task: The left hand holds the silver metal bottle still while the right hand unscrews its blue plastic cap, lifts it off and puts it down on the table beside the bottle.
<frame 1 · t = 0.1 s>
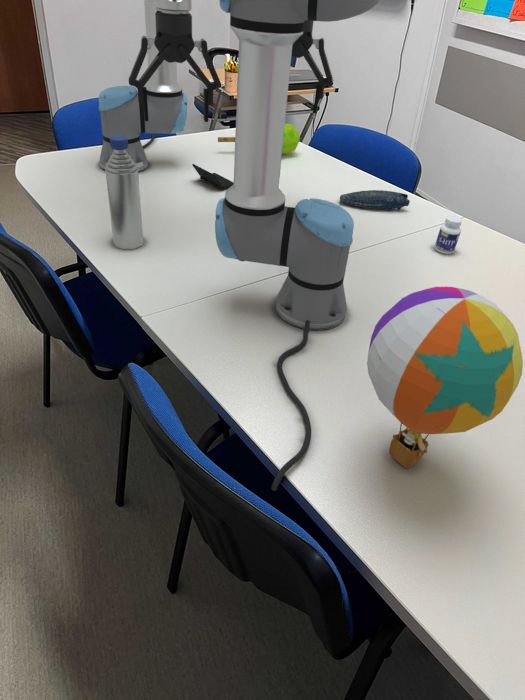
left hand: (176, 120, 120), 28 cm above the table, tool pointing down, fingers open, 13 cm apart
right hand: (288, 108, 135), 28 cm above the table, tool pointing down, fingers open, 13 cm apart
handheld gaming console: (213, 184, 165), on the table
cap: (118, 139, 115), point 25 cm above the table, screwed on, not yet turned
pill bottle: (443, 250, 140), on the table
fish model: (372, 206, 160), on the table
decorative tree: (258, 154, 190), on the table
toy: (404, 458, 82), on the table
bottle: (128, 242, 131), on the table
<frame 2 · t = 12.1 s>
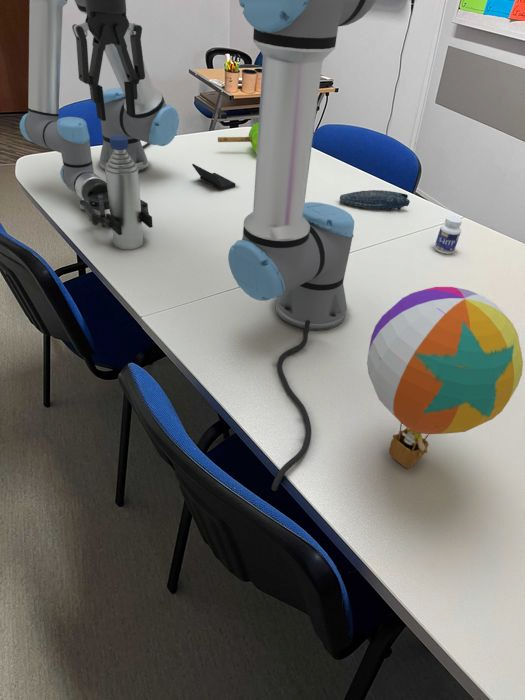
left hand: (135, 225, 124), 7 cm above the table, tool horizontal, fingers closed on bottle, 7 cm apart
right hand: (116, 117, 112), 30 cm above the table, tool pointing down, fingers open, 6 cm apart
bottle: (128, 242, 131), on the table, touching left hand
everything else where it was.
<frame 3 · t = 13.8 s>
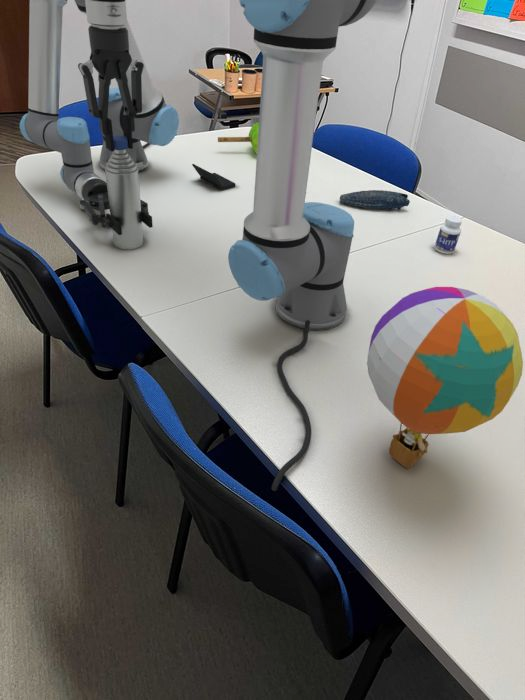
left hand: (135, 225, 124), 7 cm above the table, tool horizontal, fingers closed on bottle, 7 cm apart
right hand: (119, 147, 116), 23 cm above the table, tool pointing down, fingers closed on cap, 4 cm apart
cap: (118, 139, 115), point 25 cm above the table, screwed on, not yet turned, touching right hand
bottle: (128, 242, 131), on the table, touching left hand
everything else where it was.
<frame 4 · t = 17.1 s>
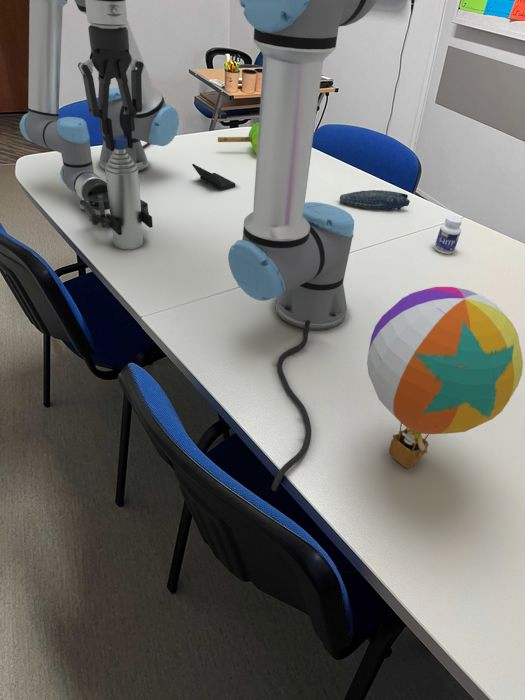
left hand: (135, 225, 124), 7 cm above the table, tool horizontal, fingers closed on bottle, 7 cm apart
right hand: (119, 147, 116), 23 cm above the table, tool pointing down, fingers closed on cap, 4 cm apart
cap: (118, 138, 115), point 25 cm above the table, turned 104° so far, risen 0.1 cm, still on its thread, touching right hand
bottle: (128, 242, 131), on the table, touching left hand
everything else where it was.
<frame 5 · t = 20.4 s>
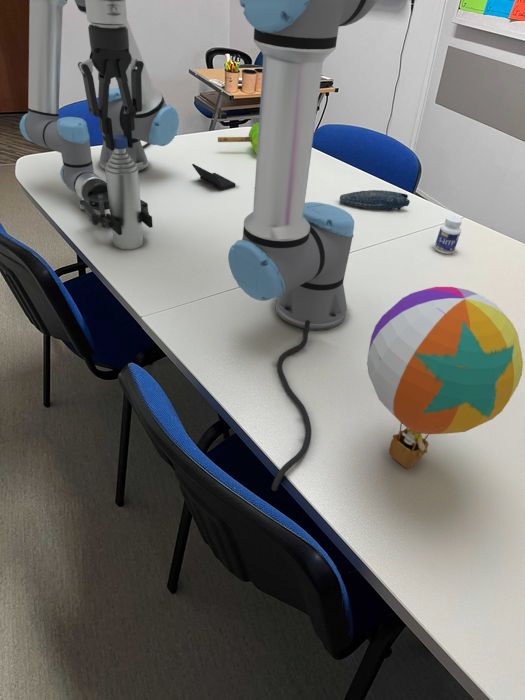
left hand: (135, 225, 124), 7 cm above the table, tool horizontal, fingers closed on bottle, 7 cm apart
right hand: (119, 146, 116), 24 cm above the table, tool pointing down, fingers closed on cap, 4 cm apart
cap: (118, 138, 115), point 25 cm above the table, turned 208° so far, risen 0.2 cm, still on its thread, touching right hand
bottle: (128, 242, 131), on the table, touching left hand
everything else where it was.
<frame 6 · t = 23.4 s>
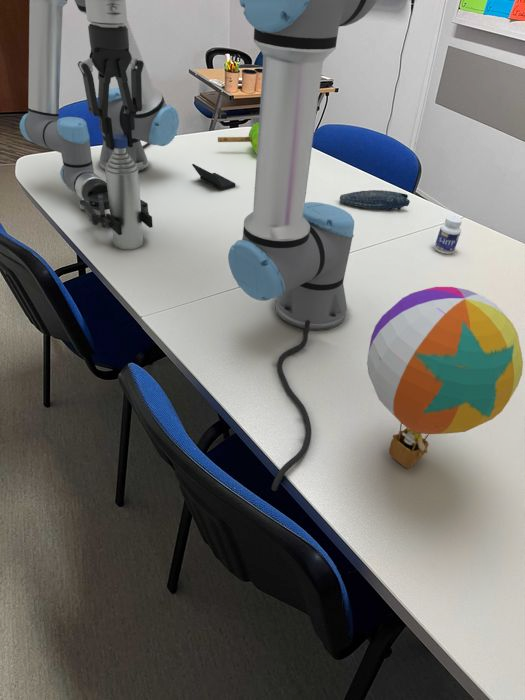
left hand: (135, 225, 124), 7 cm above the table, tool horizontal, fingers closed on bottle, 7 cm apart
right hand: (119, 146, 116), 24 cm above the table, tool pointing down, fingers closed on cap, 4 cm apart
cap: (118, 137, 115), point 26 cm above the table, turned 311° so far, risen 0.3 cm, still on its thread, touching right hand
bottle: (128, 242, 131), on the table, touching left hand
everything else where it was.
when the right hand's fingers open (2 cm above the table, at t = 29.9 s): cap drops 2 cm, point 2 cm above the table.
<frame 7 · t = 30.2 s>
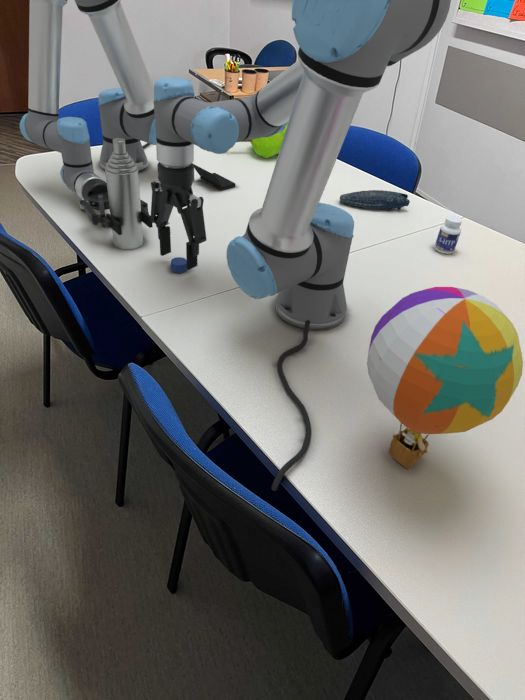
left hand: (135, 225, 124), 7 cm above the table, tool horizontal, fingers closed on bottle, 7 cm apart
right hand: (178, 260, 121), 2 cm above the table, tool pointing down, fingers open, 8 cm apart
cap: (178, 262, 121), point 2 cm above the table, off its thread
bottle: (128, 242, 131), on the table, touching left hand
everything else where it was.
when the left hand's fingers open (7 cm above the table, at t = 31.2 s): bottle stays where it is, on the table.
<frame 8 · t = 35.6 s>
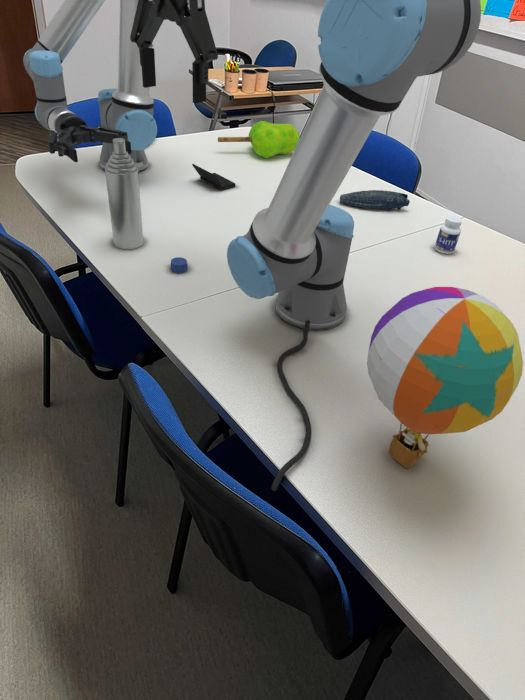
left hand: (103, 152, 124), 20 cm above the table, tool horizontal, fingers open, 13 cm apart
right hand: (173, 94, 99), 38 cm above the table, tool pointing down, fingers open, 13 cm apart
bottle: (128, 242, 131), on the table
everything else where it was.
at the end: cap came off its thread; cap point 1.8 cm above the table; the left hand is holding nothing; the right hand is holding nothing; bottle tilted 0°; bottle moved 0.0 cm from its start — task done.
